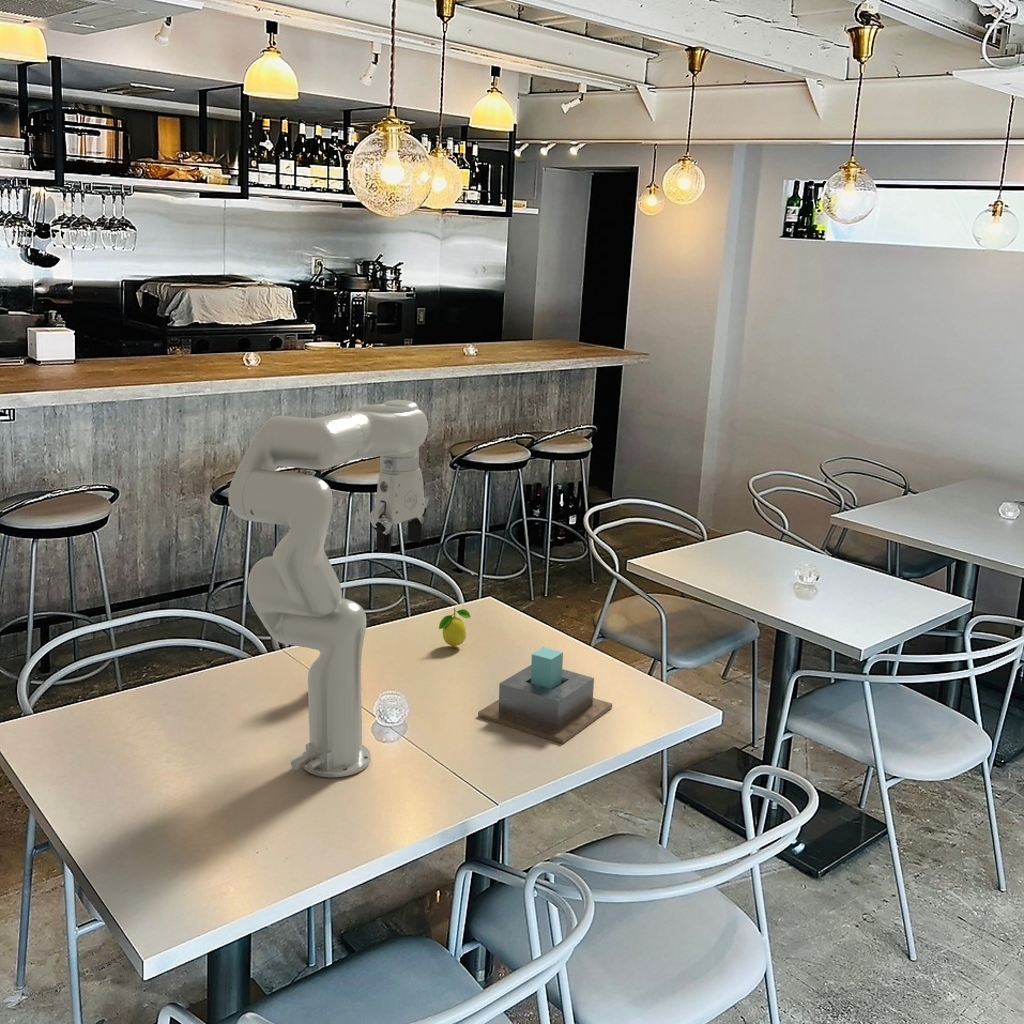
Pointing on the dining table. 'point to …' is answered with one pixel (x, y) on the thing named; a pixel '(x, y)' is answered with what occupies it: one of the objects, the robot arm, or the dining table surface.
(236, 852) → the dining table surface
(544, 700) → the well
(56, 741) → the dining table surface
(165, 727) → the dining table surface
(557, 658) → the teal post
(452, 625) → the lemon
